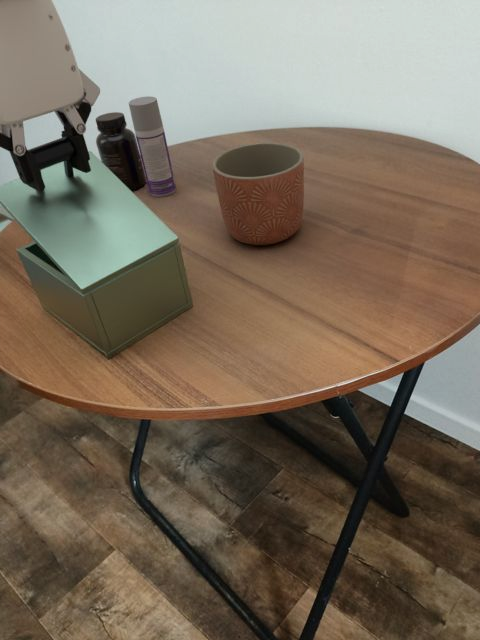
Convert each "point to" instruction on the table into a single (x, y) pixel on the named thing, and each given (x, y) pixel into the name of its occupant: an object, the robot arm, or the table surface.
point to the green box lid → (85, 217)
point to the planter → (260, 191)
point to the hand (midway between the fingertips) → (59, 176)
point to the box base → (112, 298)
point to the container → (152, 146)
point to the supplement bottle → (120, 150)
